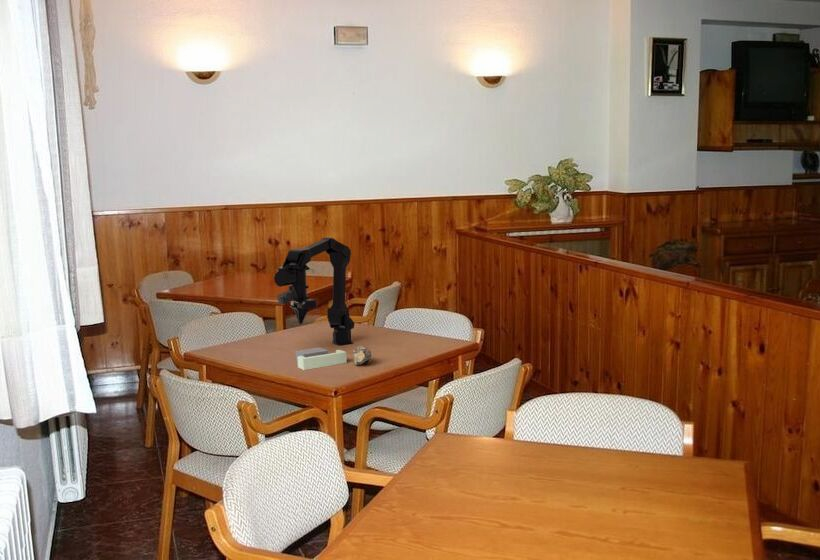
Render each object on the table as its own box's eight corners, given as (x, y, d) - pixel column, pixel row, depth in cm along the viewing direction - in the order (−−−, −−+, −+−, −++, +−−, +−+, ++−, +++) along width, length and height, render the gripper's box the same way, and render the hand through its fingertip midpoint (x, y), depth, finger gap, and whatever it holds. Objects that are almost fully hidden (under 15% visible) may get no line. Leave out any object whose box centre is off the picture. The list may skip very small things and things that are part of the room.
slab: (320, 357, 316) (319, 347, 315) (328, 361, 310) (328, 350, 309) (295, 361, 310) (295, 350, 310) (303, 365, 305) (303, 354, 304)
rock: (360, 352, 296) (379, 343, 303) (338, 348, 303) (357, 339, 310) (363, 371, 297) (382, 361, 305) (340, 366, 305) (359, 357, 312)
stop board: (340, 360, 310) (339, 349, 309) (346, 362, 305) (346, 352, 305) (297, 367, 300) (297, 356, 300) (303, 370, 296) (303, 359, 296)
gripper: (268, 282, 317) (270, 322, 319) (289, 288, 301) (291, 330, 304) (295, 279, 323) (297, 319, 325) (317, 285, 307) (318, 326, 310)
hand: (300, 323), depth 316 cm, fingers closed
